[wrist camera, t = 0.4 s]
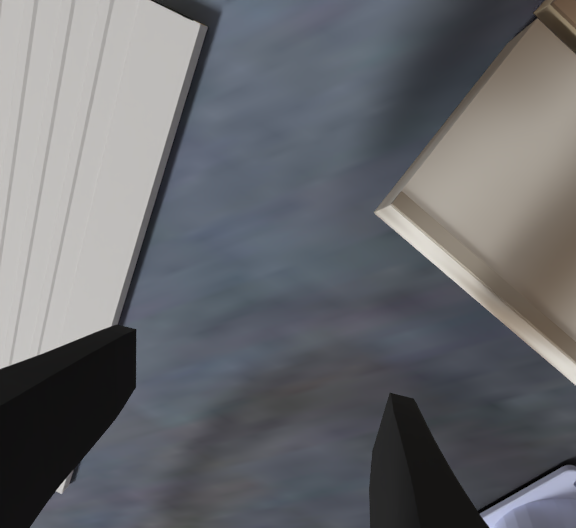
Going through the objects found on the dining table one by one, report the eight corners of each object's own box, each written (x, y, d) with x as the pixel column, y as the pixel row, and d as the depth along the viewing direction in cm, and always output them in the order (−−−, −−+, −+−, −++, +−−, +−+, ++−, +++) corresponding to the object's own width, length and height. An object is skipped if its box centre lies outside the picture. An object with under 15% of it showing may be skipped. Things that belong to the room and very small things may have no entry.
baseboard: (-72, 402, 31) (75, 476, 31) (-114, 431, 28) (47, 512, 28) (-38, -95, 18) (215, 27, 18) (-109, -128, 15) (187, 15, 15)
